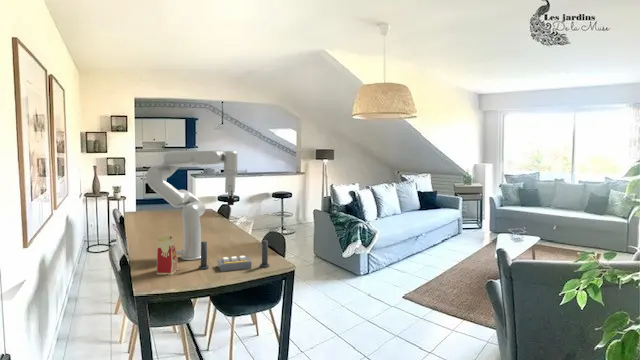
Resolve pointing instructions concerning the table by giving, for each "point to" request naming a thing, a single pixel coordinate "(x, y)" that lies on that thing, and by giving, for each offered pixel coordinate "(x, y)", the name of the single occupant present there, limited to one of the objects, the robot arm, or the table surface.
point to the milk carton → (166, 255)
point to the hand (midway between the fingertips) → (230, 204)
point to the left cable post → (203, 256)
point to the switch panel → (234, 263)
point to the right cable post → (264, 254)
